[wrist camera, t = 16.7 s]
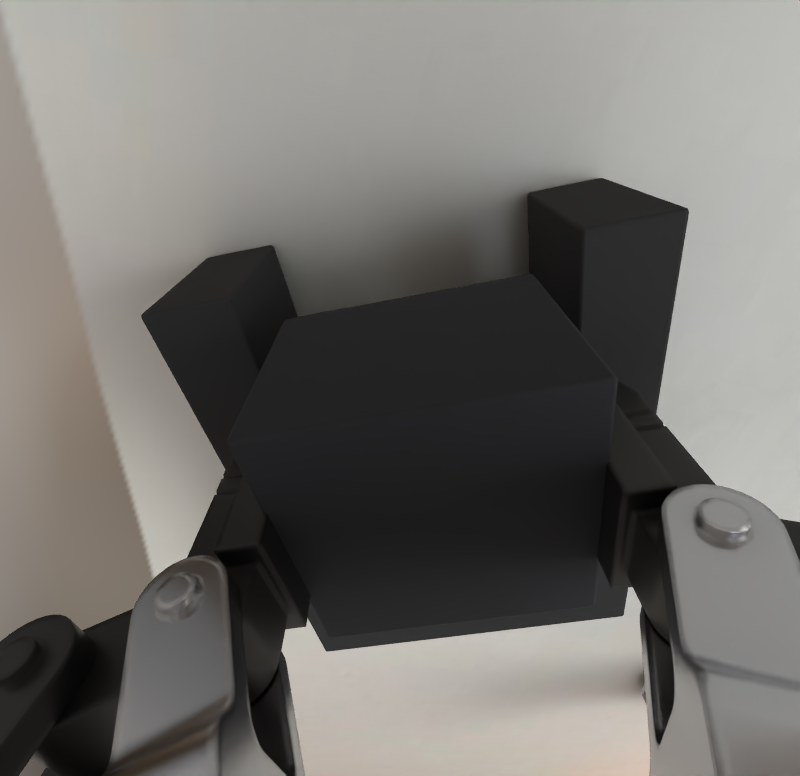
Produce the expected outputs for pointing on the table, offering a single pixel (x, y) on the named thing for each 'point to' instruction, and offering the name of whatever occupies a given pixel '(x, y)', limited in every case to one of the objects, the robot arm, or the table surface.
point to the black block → (433, 456)
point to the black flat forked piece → (548, 261)
